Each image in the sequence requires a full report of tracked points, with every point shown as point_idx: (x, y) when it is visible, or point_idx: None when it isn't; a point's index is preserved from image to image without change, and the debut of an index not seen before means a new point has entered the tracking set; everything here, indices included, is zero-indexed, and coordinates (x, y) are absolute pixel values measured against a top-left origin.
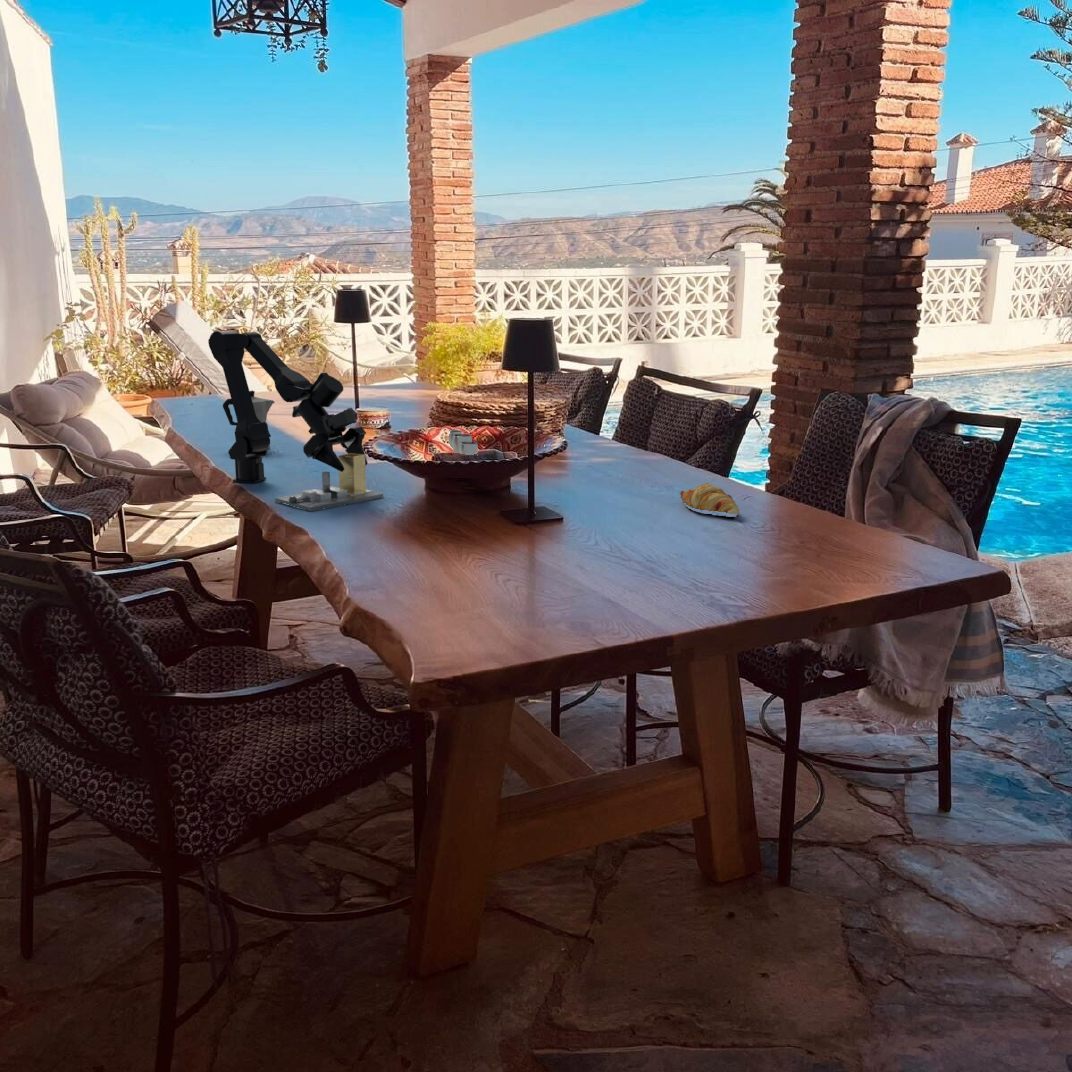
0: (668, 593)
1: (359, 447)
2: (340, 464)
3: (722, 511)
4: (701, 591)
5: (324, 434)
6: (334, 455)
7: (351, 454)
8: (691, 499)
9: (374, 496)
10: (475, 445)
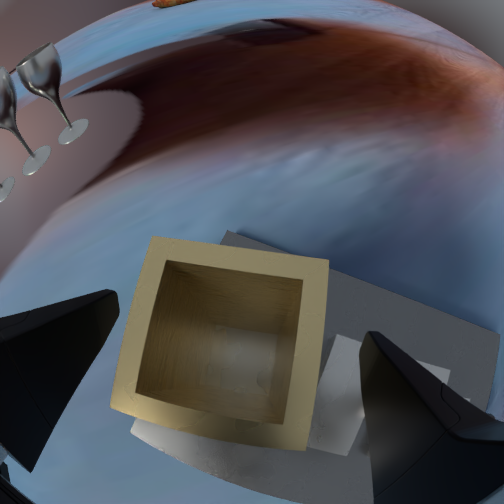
0: (405, 15)
1: (18, 332)
2: (399, 348)
3: None
4: (390, 8)
5: None
6: (446, 396)
7: (140, 381)
8: None
9: (269, 247)
10: (48, 45)
